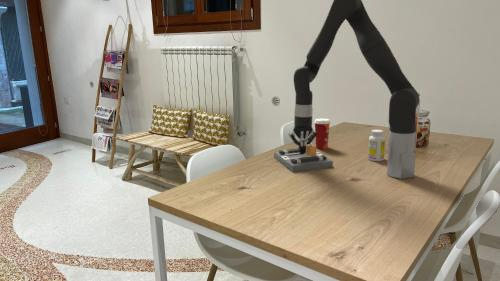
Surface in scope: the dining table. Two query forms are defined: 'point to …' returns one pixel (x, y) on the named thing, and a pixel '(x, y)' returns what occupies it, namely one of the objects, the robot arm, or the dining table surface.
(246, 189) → the dining table surface
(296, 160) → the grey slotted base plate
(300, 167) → the breaker panel
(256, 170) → the dining table surface
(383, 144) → the supplement bottle
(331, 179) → the dining table surface
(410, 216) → the dining table surface
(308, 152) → the block
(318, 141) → the paper cup
